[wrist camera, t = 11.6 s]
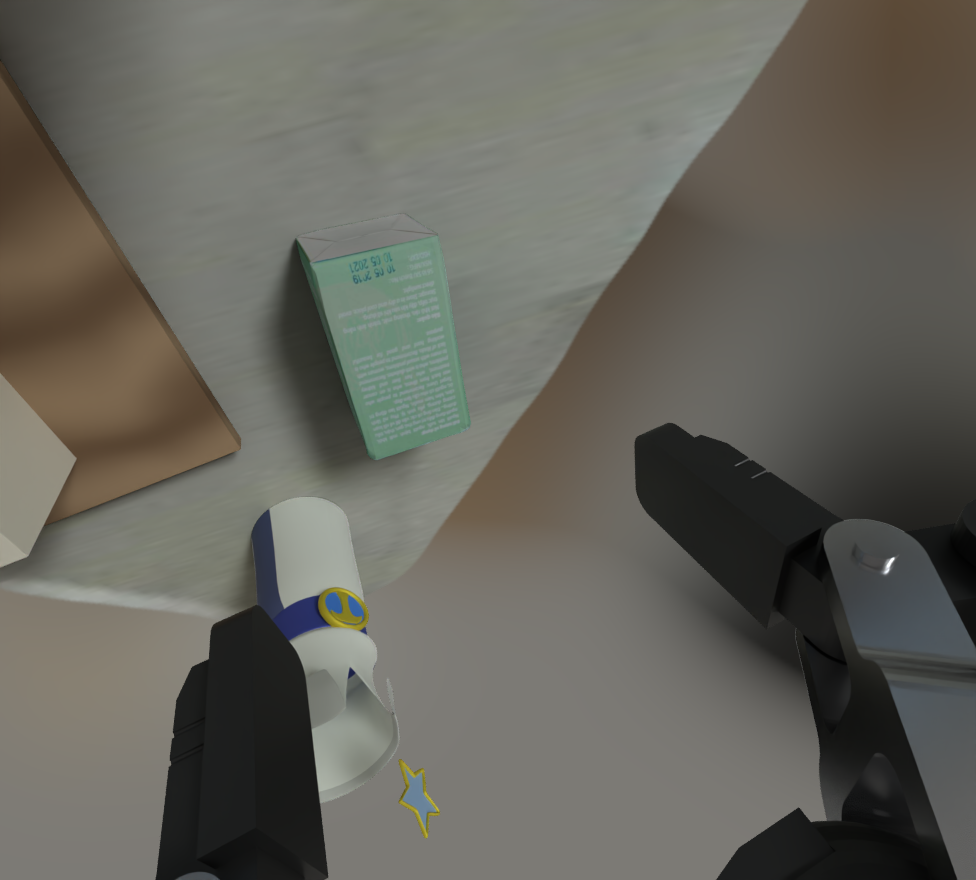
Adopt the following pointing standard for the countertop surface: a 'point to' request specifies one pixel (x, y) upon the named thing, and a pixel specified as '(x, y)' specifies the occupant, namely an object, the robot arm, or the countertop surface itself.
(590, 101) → the countertop surface
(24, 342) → the board
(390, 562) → the countertop surface
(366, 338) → the box
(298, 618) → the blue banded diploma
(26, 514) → the carton
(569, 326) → the countertop surface
